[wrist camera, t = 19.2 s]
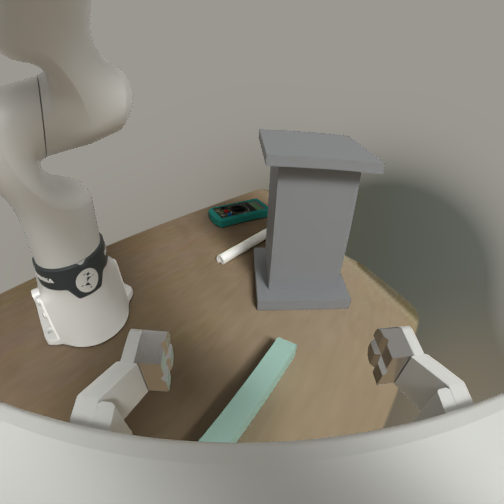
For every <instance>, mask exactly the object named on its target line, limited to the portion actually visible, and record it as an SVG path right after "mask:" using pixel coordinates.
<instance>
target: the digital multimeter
mask: <svg viewBox="0 0 504 504" xmlns="http://www.w3.org/2000/svg"><path fill="white" fill-rule="evenodd" d="M267 215H268V206H266V205H265V204H264V203H262V202H261V201H259V200H258V199H252V200H247V201H243V202H238V203H233V204H229V205H223V206H218V207H213V208H211V209H209V217H210V219H211V221H212V222H213V223H214V224H215V225H217V226H219V227H220V228H222V227H226V226H230V225H233V224H237V223H241V222H245V221H250V220H254V219H259V218H264V217H267Z"/></svg>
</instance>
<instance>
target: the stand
mask: <svg viewBox="0 0 504 504" xmlns="http://www.w3.org/2000/svg"><path fill="white" fill-rule="evenodd" d="M259 140H260V144H261V148H262V152H263V156H264V159H265V164H266V166H271V169H270V185H269V200H268V215H267V230H266V245H265V248H254V254H253V257H254V271H255V285H256V299H257V310H308V309H341V308H349V305H350V302H351V298H350V296H349V293H348V291H347V288H346V286H345V283H344V281H343V278H342V276H341V273H340V271H341V267H342V263H343V259H344V255H345V250H346V246H347V241H348V237H349V232H350V228H351V223H352V218H353V213H354V208H355V203H356V197H357V193H358V187H359V182H360V176H361V172H367V173H377V174H383V170H384V165H385V164H384V163H383V162H382V161H381V160H379V159H378V158H377V157H375V156H374V155H373V154H372V153H370V152H369V151H368V150H367V149H365V148H364V147H362V146H361V145H360V144H359V143H357V142H356V141H355V140H353V139H352V138H351V137H349V136H344V135H335V134H325V133H314V132H301V131H285V130H264V129H259Z"/></svg>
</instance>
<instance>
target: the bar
mask: <svg viewBox="0 0 504 504" xmlns="http://www.w3.org/2000/svg"><path fill="white" fill-rule="evenodd" d="M296 347H297V345H296V344H294V343H291V342H289V341H286V340H284V339H282V338H279V337H278V338H277V339H276V341H275V342H274V343H273V345H272V346H271V348H270V349H269V350H268V352H267V353H266V355H265V356H264V357H263V359H262V360H261V361H260V363H259V364H258V365H257V367H256V368H255V370H254V371H253V372H252V374H251V375H250V376H249V378H248V379H247V380H246V382H245V383H244V384H243V386H242V387H241V388H240V389H239V391H238V392H237V393H236V395H235V396H234V397H233V399H232V400H231V401H230V402H229V404H228V405H227V406H226V408H225V409H224V410H223V411H222V413H221V414H220V415H219V416H218V418H217V419H216V420H215V421H214V423H213V424H212V425H211V426H210V428H209V429H208V430H207V431H206V433H205V434H204V435H203V436H202V437H201V439H200V440H199V441H198V442H224V443H236V442H237V441H238V439H239V438H240V437H241V435H242V434H243V432H244V431H245V430H246V428H247V427H248V425H249V424H250V423H251V421H252V420H253V418H254V417H255V415H256V414H257V413H258V411H259V410H260V408H261V407H262V405H263V404H264V402H265V401H266V399H267V398H268V396H269V395H270V393H271V392H272V390H273V389H274V387H275V386H276V384H277V383H278V381H279V380H280V378H281V377H282V375H283V374H284V372H285V371H286V369H287V367H288V366H289V364H290V363H291V361H292V360H293V358H294V356H295V352H296Z"/></svg>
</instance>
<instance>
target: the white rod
mask: <svg viewBox="0 0 504 504" xmlns="http://www.w3.org/2000/svg"><path fill="white" fill-rule="evenodd" d="M266 230H267V228H266V229H264V230H262V231H261V232H259V233H257V234H255V235H253V236H252V237H250V238H248V239H246V240H244V241H243V242H241V243H239V244H237V245H236V246H234V247H232V248H230V249H228V250H227V251H225V252H223V253H221V254H219V255H218V256H217V261H218V262H219V263H220V262H221V264H225V263H227V262H228V261H230V260H232V259H233V258H235V257H237V256H238V255H240V254H242V253H243V252H245V251H247V250H248V249H250V248H252V247H254V246H255V245H257V244H259V243H260V242H262V241H264V240H265V239H266Z"/></svg>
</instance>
